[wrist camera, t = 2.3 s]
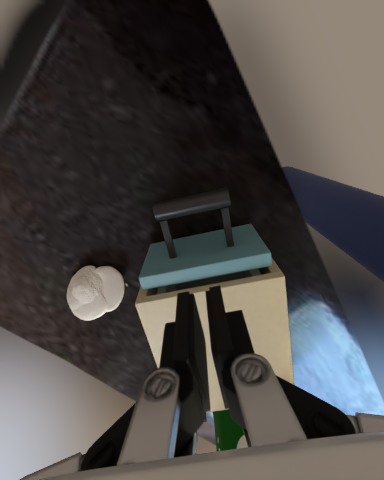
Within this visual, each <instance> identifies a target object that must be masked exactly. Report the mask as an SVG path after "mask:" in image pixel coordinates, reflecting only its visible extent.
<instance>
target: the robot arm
mask: <svg viewBox="0 0 384 480" xmlns="http://www.w3.org/2000/svg"><path fill="white" fill-rule="evenodd" d="M205 292H206V303H207V313H208V323H209V333H210V344H211V352H212V357H213V361H214V366H215V370H216V374H217V378H218V382H219V386H220V390H221V394H222V398H223V402H224V406H225V409H228V408H229V411H230V415H231V419H232V420H234V421H235V422H236V423H237V424H239V425H240V426H241V427H243V432H244V435H245V439H246V442H247V446H248V447H247V448H240V449H233V450H225V451H218V452H211V453H204V454H196V449H197V430H198V429H199V427H200V426H201V425H202V424H203V422H206V412H208V411H210V395H209V382H208V369H207V355H206V342H205V336H204V332H203V328H202V324H201V320H200V316H199V312H198V308H197V304H196V300H195V296H194V294H190V293H189V291H187V292H182V293H178V294H177V305H176V318H175V322H170V323H166V324H165V328H164V335H163V343H162V350H161V358H160V366H159V368H158V369H156V370H154V371H152V372H151V373H149V374H148V375H147V376H146V378H145V379H144V381H143V383H142V385H141V388H140V391H139V395H138V398H137V401H136V403H135V404H134V405H133V406H132V407H131V408H130V409H129V410H128V411H127V412H126V413H125V414H124V415H123V416H122V417H121V418H120V419H118V420H117V421H116V422H115V423H114V424H113V425H112V426H111V427H110V428H109V429H108V430H107V431H106V432H105V433H104V434H103V435H102V436H101V437H100V438H99V439H98V440H97V441H96V442H95V443H94V444H93V445H92V446H91V447H90V448H89V450H88V451H87V453H86V454H84V455H82V454H81V453H77V454H75V455H73V456H71V457H68V458H66V459H64V460H61V461H59V462H57V463H54V464H52V465H50V466H48V467H46V468H43V469H41V470H39V471H36V472H34V473H32V474H30V475H27V476H25V477H23V478H22V479H20V480H384V416H381V415H373V414H364V413H356V415H355V416H351V415H345V414H344V413H343V412H342V411H340V410H339V409H337V408H336V407H334V406H332V405H330V404H328V403H327V402H325V401H323V400H321V399H319V398H317V397H316V396H314V395H312V394H310V393H308V392H306V391H304V390H303V389H301V388H299V387H297V386H295V385H293V384H291V383H290V382H288V381H286V380H284V379H282V378H280V377H278V376H277V375H275V373H274V371H273V369H272V367H271V365H270V363H269V362H268V360H267V359H266V358H264V357H263V356H261V355H258V354H255V353H254V349H253V346H252V342H251V339H250V336H249V332H248V329H247V325H246V322H245V319H244V315H243V312H242V310H237V311H231V312H225V307H224V302H223V297H222V292H221V287H220V285H219V286H214V287H209V291H205Z"/></svg>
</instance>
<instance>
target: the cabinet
mask: <svg viewBox="0 0 384 480" xmlns="http://www.w3.org/2000/svg"><path fill="white" fill-rule="evenodd" d="M271 258H272V257H271ZM258 269H259V271H260V273H261V275H258V276H253V277H247V278H242V279H237V280H231V281H226V282H221V283H215V284H210V285H205V286H199V287H194V288H189V289H183V290H178V291H173V292H167V293H162V294H157V292H158V287H157V288H152V289H146V290H142V287H140V290H139V293H138V296H137V299H136V302H135V306H136V308H137V311H138V314H139V317H140V320H141V322H142V325H143V328H144V331H145V333H146V336H147V339H148V342H149V344H150V347H151V350H152V353H153V356H154V358H155V361H156V364H157V367H158V368H159V366H160V358H161V350H162V343H163V335H164V328H165V324H166V323H170V322H175V318H176V305H177V294H178V293H182V292H187V291H189V293H190V294H194V296H195V300H196V304H197V308H198V312H199V316H200V320H201V324H202V328H203V332H204V336H205V342H206V355H207V369H208V382H209V395H210V411H208V412H214V411H221V410H227V409H225V406H224V402H223V398H222V394H221V390H220V386H219V382H218V378H217V374H216V370H215V366H214V361H213V357H212V352H211V344H210V333H209V323H208V313H207V303H206V292H205V291H209V287H214V286H219V285H220V287H221V292H222V297H223V302H224V307H225V312H231V311H237V310H242V312H243V315H244V319H245V322H246V325H247V329H248V332H249V336H250V339H251V342H252V346H253V349H254V353H255V354H258V355H261V356H263V357H264V358H266V359H267V360H268V362H269V363H270V365H271V367H272V369H273V371H274V373H275V375H277V376H278V377H280V378H282V379H284V380H286V381H288V382H290V383H291V384H293V385H294V374H293V363H292V352H291V341H290V330H289V318H288V307H287V296H286V285H285V276H284V274H283V273H282V271H281V270H280V269H279V267H278V266H277V264H276V263H275V261H274V260H273V258H272V266H268V267H262V268H258ZM228 409H229V408H228ZM206 413H207V412H206Z"/></svg>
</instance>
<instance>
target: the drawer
mask: <svg viewBox="0 0 384 480" xmlns="http://www.w3.org/2000/svg"><path fill="white" fill-rule="evenodd" d="M230 205H231V203H230V196H229V192H228V189H227V187H226V188H221V189H216V190H212V191H207V192H202V193H198V194H193V195H189V196H184V197H179V198H175V199H170V200H165V201H161V202H156V203H153V213H154V217H155V219H156V221H160V225H161V228H162V232H163V236H164V239H165V241H163V242H158V243H153V244H150V247H149V250H148V253H147V256H146V258H145V261H144V264H143V267H142V269H141V272H140V275H139V281H140V284H141V287H142V290H146V289H152V288H157V287H158V292H157V294H162V293H167V292H173V291H178V290H183V289H189V288H194V287H199V286H205V285H210V284H215V283H221V282H226V281H231V280H237V279H242V278H247V277H253V276H258V275H261V273H260V271H259V269H258V268H262V267H268V266H272V258H271V252H270V251H269V249H268V248H267V246H266V245H265V243H264V242H263V240H262V239H261V238H260V236H259V235H258V233H257V232H256V230H255V229H254V227H253V226H252V224H247V225H242V226H237V227H232V228H231V221H230V215H229V209H228V207H229V206H230ZM219 208H220V210H221V215H222V221H223V227H224V229H222V230H217V231H212V232H207V233H202V234H197V235H193V236H188V237H183V238H178V239H173V238H172V234H171V231H170V227H169V223H168V219H171V218H176V217H181V216H186V215H190V214H195V213H200V212H205V211H210V210H214V209H219Z"/></svg>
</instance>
